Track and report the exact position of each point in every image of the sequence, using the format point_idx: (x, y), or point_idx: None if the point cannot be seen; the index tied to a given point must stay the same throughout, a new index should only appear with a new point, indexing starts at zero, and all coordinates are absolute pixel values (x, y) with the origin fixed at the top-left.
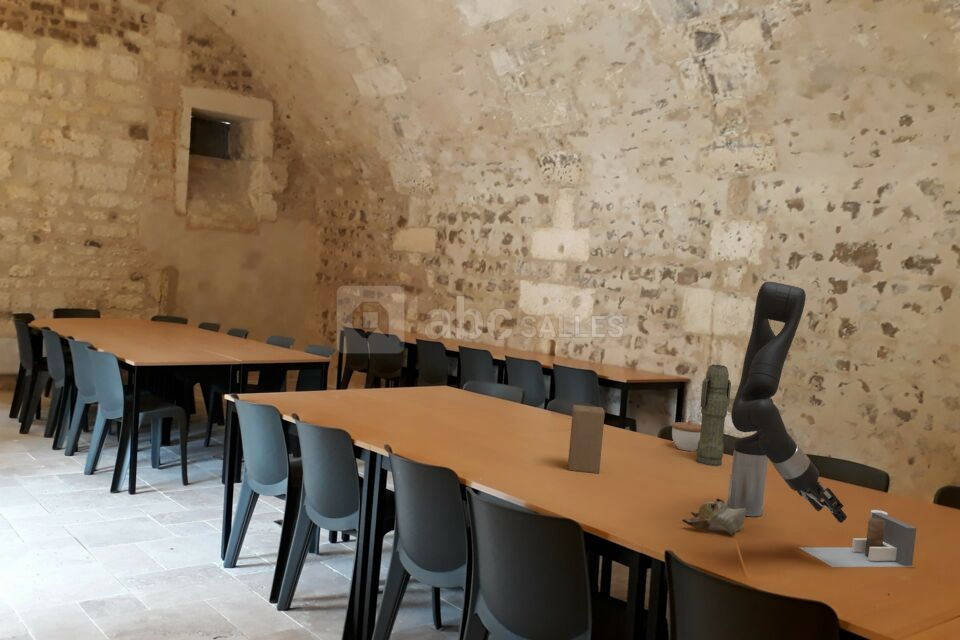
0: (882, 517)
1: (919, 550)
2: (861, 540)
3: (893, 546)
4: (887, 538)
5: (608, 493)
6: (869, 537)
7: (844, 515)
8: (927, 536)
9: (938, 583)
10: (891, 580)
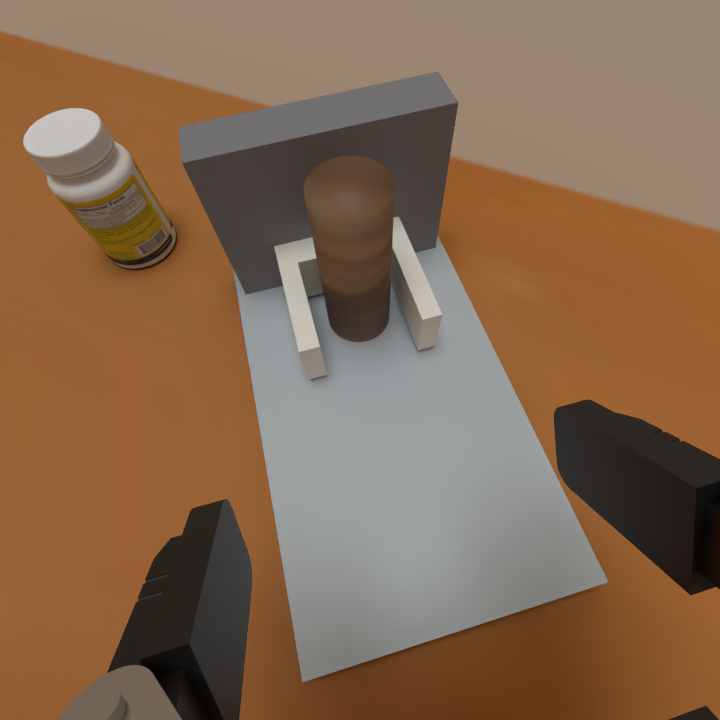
0: (270, 146)
1: None
2: (311, 319)
3: None
4: None
5: None
6: (369, 286)
7: (653, 431)
8: (68, 94)
9: (524, 203)
10: (574, 336)
